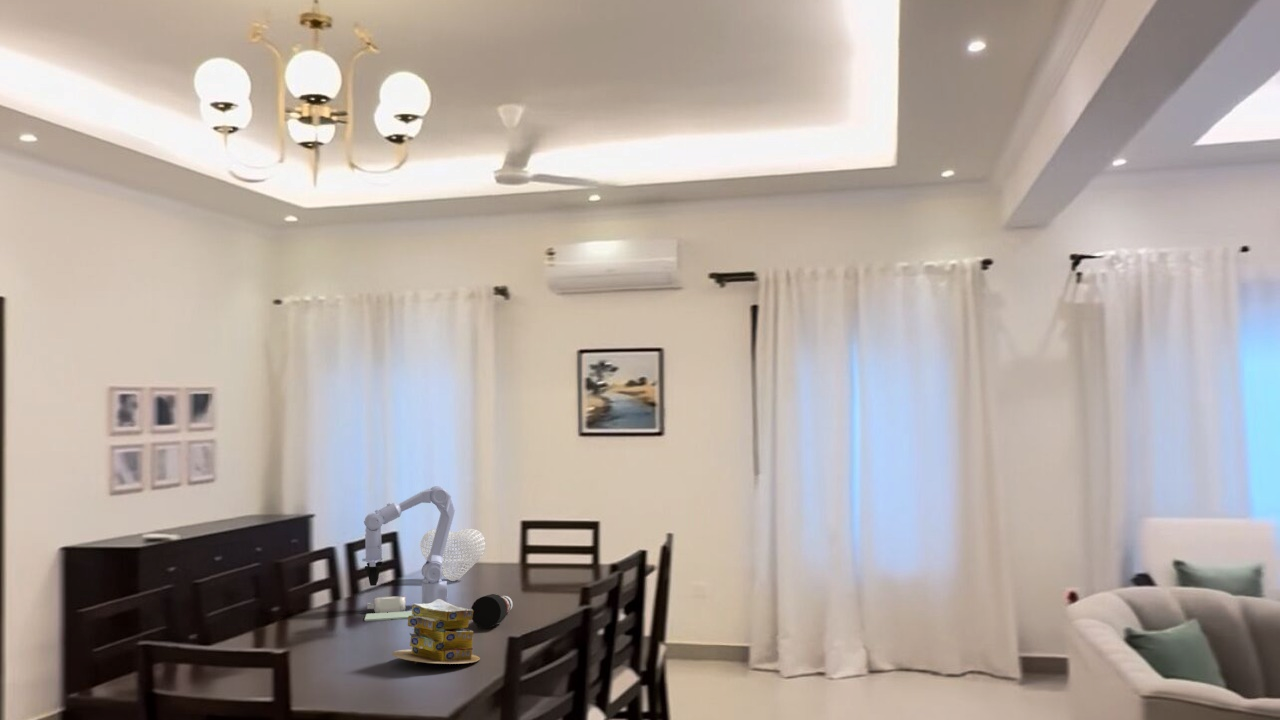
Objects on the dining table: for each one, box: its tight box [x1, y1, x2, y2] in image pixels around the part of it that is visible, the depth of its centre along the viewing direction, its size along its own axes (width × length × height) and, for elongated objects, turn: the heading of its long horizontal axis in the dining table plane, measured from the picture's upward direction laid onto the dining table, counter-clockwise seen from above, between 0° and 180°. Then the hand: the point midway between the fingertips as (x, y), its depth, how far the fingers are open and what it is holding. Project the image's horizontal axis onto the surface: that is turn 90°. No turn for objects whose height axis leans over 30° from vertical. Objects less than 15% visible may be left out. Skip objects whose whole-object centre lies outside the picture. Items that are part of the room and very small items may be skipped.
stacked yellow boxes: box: [391, 599, 481, 665], centre depth 279 cm, size 25×25×17 cm
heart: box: [420, 528, 487, 582], centre depth 416 cm, size 28×16×22 cm, turn 84°
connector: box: [366, 595, 407, 613], centre depth 353 cm, size 13×4×5 cm, turn 102°
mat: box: [364, 610, 413, 622], centre depth 343 cm, size 16×10×1 cm, turn 102°
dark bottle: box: [470, 593, 514, 629], centre depth 336 cm, size 10×34×10 cm, turn 173°
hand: (374, 583), depth 355 cm, fingers open, 7 cm apart
